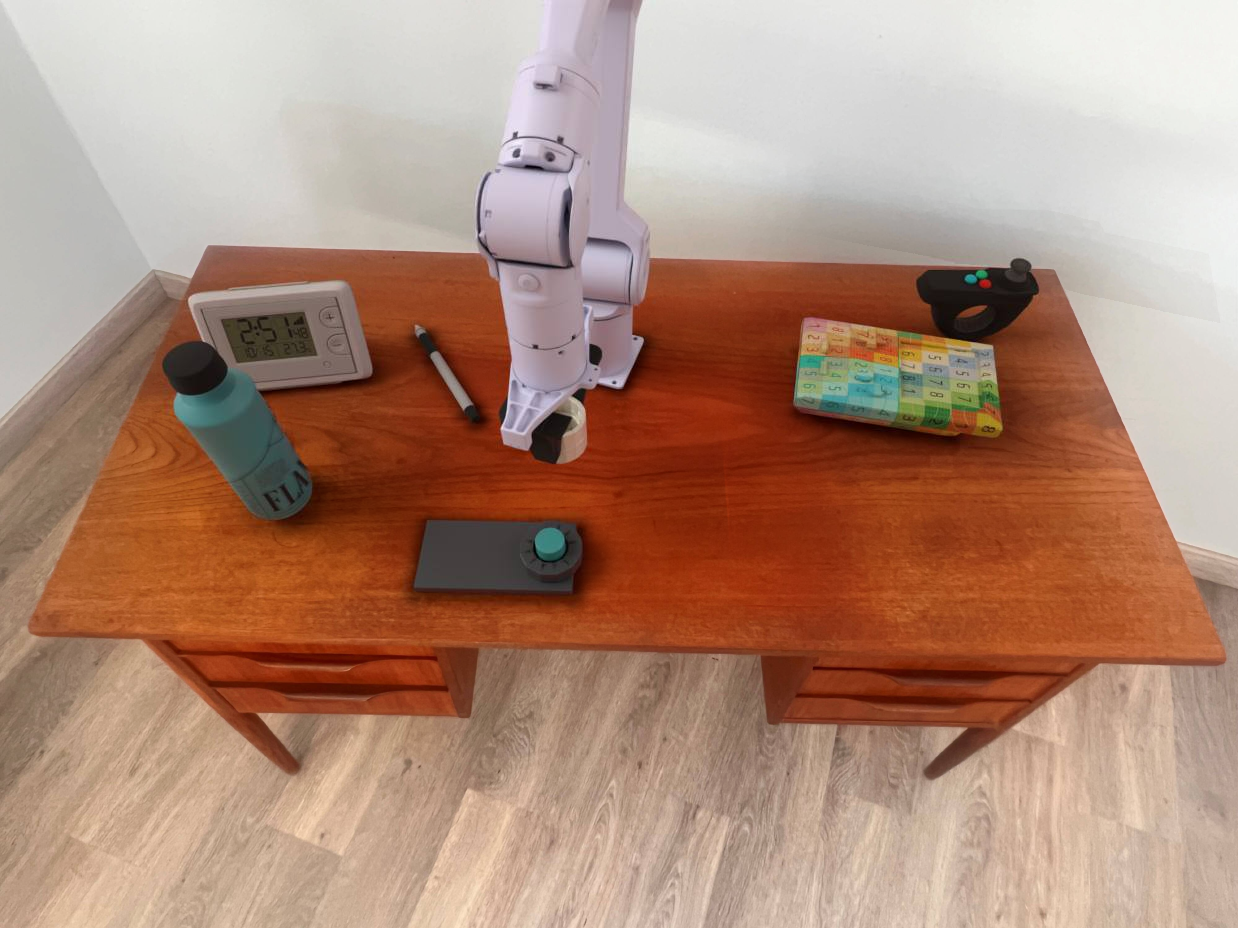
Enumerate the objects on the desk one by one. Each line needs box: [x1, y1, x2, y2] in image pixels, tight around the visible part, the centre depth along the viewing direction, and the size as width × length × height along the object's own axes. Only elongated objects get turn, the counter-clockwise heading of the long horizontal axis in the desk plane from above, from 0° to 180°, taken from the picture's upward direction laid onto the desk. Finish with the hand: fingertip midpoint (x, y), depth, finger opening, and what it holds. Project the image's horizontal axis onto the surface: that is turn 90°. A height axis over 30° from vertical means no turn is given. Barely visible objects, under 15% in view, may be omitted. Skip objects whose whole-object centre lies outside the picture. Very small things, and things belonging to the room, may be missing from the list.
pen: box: [414, 323, 481, 423], centre depth 81 cm, size 1×16×1 cm, turn 31°
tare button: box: [535, 528, 566, 561], centre depth 65 cm, size 3×3×2 cm
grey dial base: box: [413, 519, 584, 596], centre depth 67 cm, size 15×7×2 cm, turn 89°
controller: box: [915, 257, 1040, 341], centre depth 81 cm, size 4×12×10 cm, turn 88°
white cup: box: [553, 396, 588, 465], centre depth 65 cm, size 5×5×4 cm
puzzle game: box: [792, 317, 1004, 439], centre depth 77 cm, size 12×5×20 cm
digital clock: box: [187, 279, 374, 392], centre depth 77 cm, size 16×9×11 cm, turn 86°
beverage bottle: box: [161, 340, 314, 521], centre depth 63 cm, size 6×7×20 cm
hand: (557, 435), depth 65 cm, fingers closed on white cup, 5 cm apart
